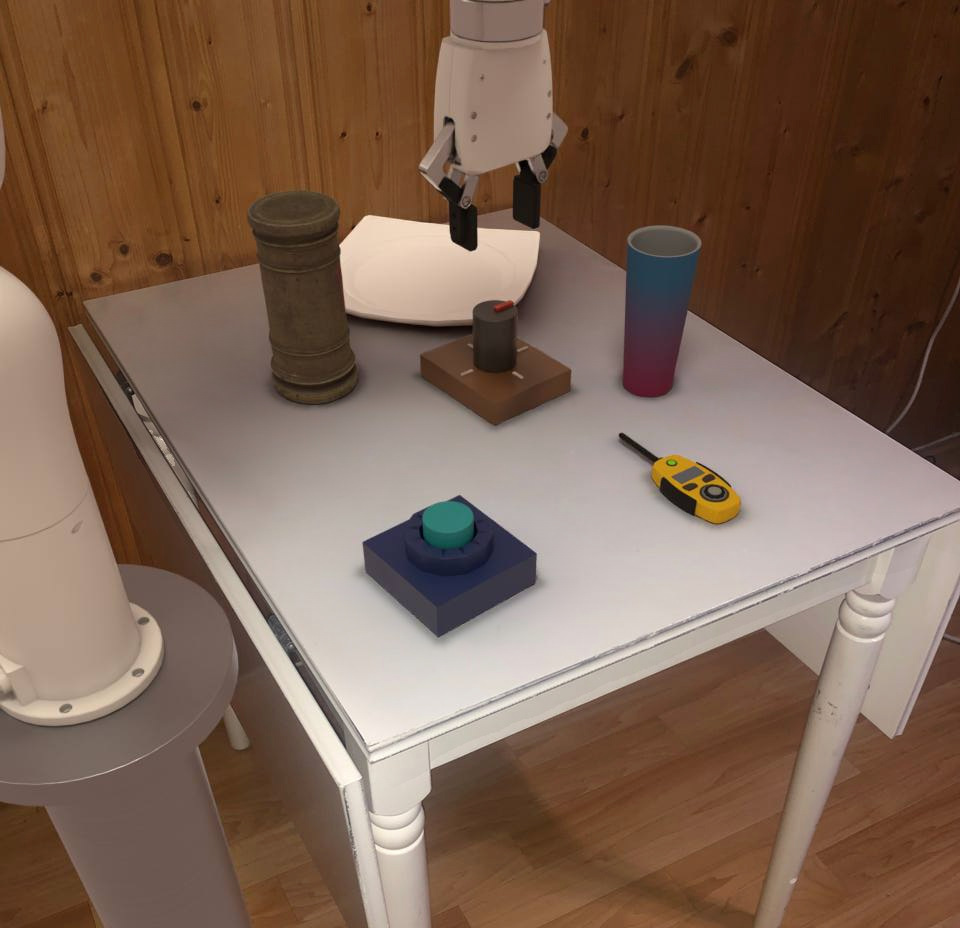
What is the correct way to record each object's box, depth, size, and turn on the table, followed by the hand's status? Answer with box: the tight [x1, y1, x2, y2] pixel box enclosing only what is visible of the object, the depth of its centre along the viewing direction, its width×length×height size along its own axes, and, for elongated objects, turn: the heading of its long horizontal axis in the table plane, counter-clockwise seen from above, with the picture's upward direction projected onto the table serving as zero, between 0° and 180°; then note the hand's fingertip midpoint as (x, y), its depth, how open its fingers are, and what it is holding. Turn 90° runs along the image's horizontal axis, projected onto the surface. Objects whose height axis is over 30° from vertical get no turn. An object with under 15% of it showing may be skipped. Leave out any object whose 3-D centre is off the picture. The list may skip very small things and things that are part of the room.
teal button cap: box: [422, 500, 474, 549], centre depth 83 cm, size 4×4×2 cm
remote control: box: [618, 432, 742, 524], centre depth 95 cm, size 5×2×15 cm
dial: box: [472, 300, 519, 372], centre depth 104 cm, size 4×4×6 cm
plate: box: [339, 214, 541, 327], centre depth 123 cm, size 24×24×3 cm
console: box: [419, 332, 572, 426], centre depth 107 cm, size 10×12×3 cm
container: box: [246, 189, 359, 405], centre depth 102 cm, size 9×9×18 cm
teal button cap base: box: [362, 494, 538, 638], centre depth 85 cm, size 10×10×5 cm
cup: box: [622, 224, 702, 398], centre depth 102 cm, size 7×7×15 cm
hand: (495, 233), depth 97 cm, fingers open, 6 cm apart
